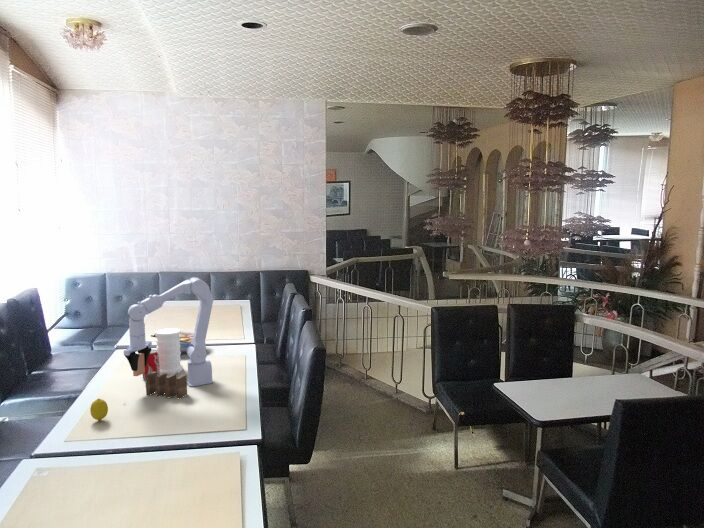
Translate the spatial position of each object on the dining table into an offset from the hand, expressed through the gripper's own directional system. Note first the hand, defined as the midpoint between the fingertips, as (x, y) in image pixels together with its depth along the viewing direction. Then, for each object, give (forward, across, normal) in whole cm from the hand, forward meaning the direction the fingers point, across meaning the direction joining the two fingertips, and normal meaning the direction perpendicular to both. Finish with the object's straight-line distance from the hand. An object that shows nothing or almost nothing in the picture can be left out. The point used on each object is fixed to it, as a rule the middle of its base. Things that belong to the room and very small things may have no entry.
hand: (139, 368), depth 216 cm
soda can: (+10, -15, -6) cm, 19 cm away
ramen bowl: (+10, -55, -18) cm, 59 cm away
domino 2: (+10, 0, +10) cm, 14 cm away
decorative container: (+10, -27, -5) cm, 29 cm away
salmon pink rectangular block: (+2, 0, 0) cm, 2 cm away
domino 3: (+10, 0, +14) cm, 17 cm away
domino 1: (+10, 0, +6) cm, 11 cm away
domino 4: (+10, 0, +19) cm, 21 cm away
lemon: (+10, +28, +5) cm, 30 cm away
